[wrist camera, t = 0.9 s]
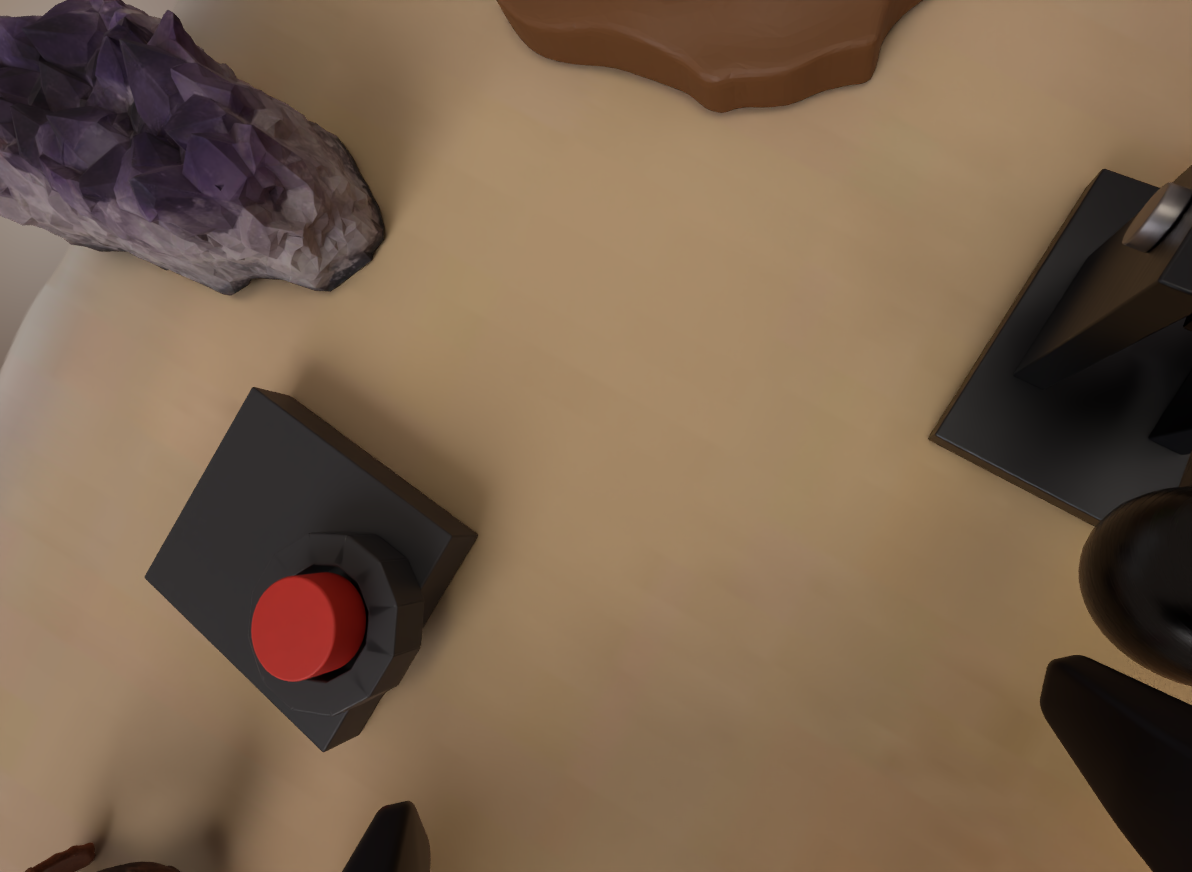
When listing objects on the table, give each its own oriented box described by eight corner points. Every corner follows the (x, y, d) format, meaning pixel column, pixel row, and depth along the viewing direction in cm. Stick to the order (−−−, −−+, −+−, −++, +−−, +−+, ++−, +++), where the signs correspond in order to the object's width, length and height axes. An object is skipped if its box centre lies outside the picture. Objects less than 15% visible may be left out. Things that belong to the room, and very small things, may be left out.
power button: (384, 608, 23) (352, 615, 22) (334, 691, 23) (300, 704, 22) (317, 553, 24) (282, 555, 23) (271, 632, 25) (233, 640, 23)
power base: (502, 551, 26) (452, 557, 22) (380, 755, 27) (311, 794, 23) (289, 395, 30) (217, 377, 26) (187, 573, 31) (101, 581, 27)
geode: (437, 105, 30) (268, -44, 20) (372, 343, 31) (185, 308, 22) (130, 40, 36) (-114, -101, 26) (86, 244, 37) (-162, 182, 27)
